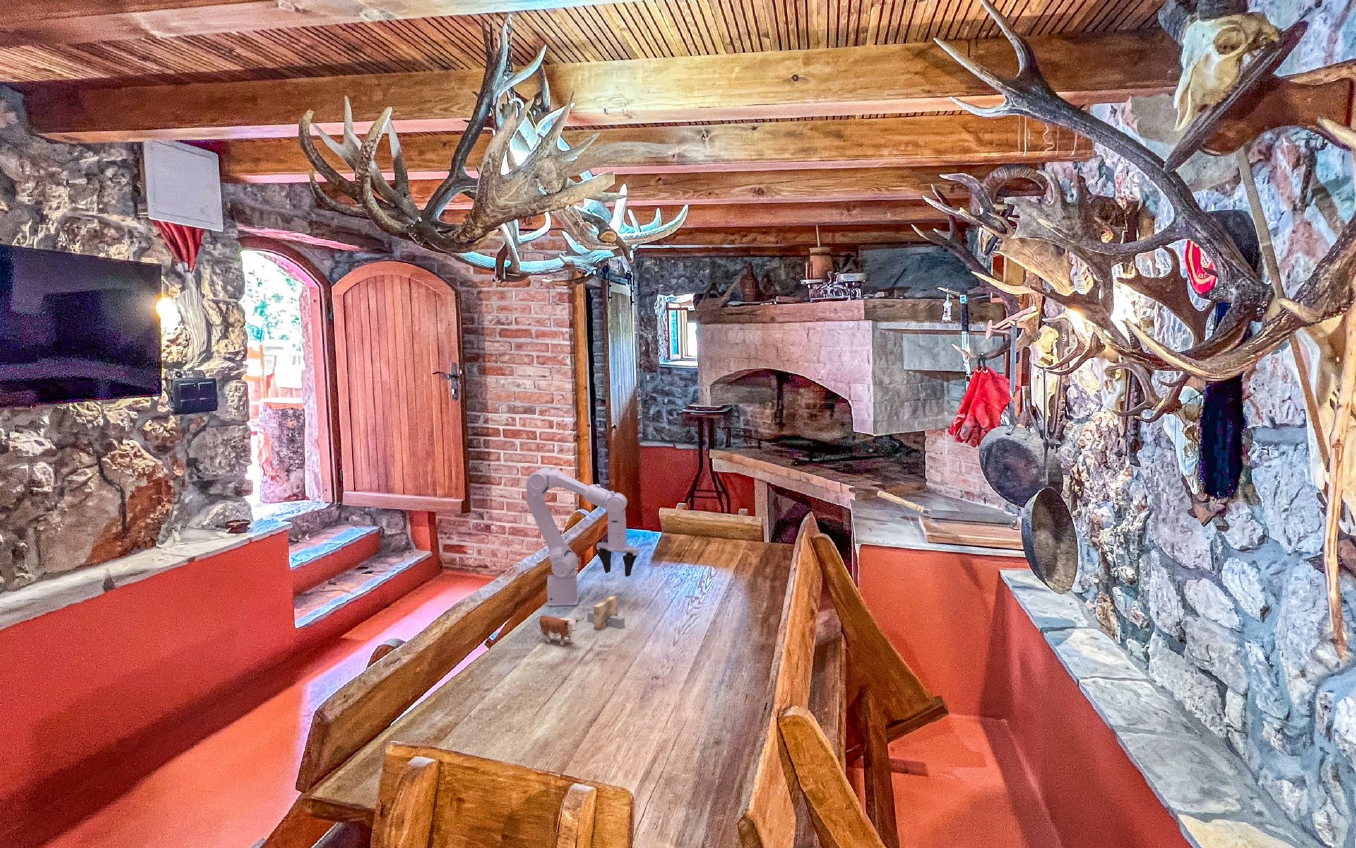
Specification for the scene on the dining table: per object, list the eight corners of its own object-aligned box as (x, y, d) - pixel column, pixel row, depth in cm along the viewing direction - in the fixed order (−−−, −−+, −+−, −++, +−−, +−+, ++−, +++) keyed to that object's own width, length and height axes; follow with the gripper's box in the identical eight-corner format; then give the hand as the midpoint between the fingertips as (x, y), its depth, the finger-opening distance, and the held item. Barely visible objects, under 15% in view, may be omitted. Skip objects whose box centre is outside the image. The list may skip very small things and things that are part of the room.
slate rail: (587, 621, 226) (587, 612, 226) (590, 619, 228) (590, 610, 228) (621, 628, 221) (621, 619, 221) (624, 626, 222) (624, 617, 222)
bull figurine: (573, 651, 206) (573, 622, 205) (536, 640, 213) (535, 613, 212) (583, 645, 210) (583, 617, 208) (547, 635, 217) (546, 608, 216)
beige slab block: (599, 630, 220) (598, 607, 219) (594, 629, 221) (593, 606, 220) (617, 618, 228) (617, 596, 228) (612, 617, 229) (612, 595, 228)
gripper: (590, 532, 237) (591, 574, 239) (629, 538, 230) (630, 581, 232) (603, 527, 243) (604, 568, 245) (641, 532, 237) (642, 574, 238)
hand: (617, 574), depth 239 cm, fingers open, 7 cm apart
